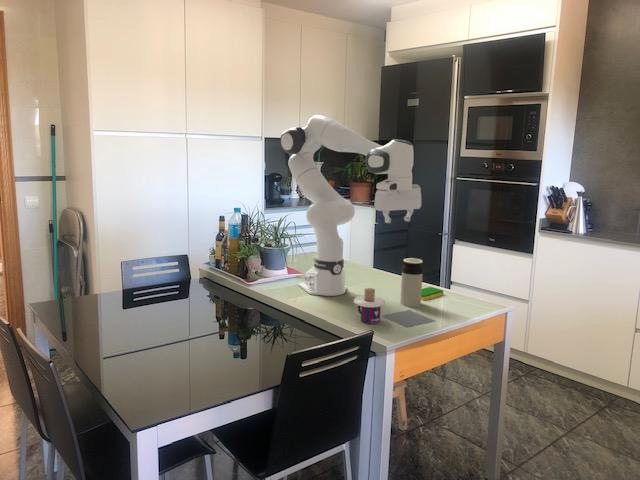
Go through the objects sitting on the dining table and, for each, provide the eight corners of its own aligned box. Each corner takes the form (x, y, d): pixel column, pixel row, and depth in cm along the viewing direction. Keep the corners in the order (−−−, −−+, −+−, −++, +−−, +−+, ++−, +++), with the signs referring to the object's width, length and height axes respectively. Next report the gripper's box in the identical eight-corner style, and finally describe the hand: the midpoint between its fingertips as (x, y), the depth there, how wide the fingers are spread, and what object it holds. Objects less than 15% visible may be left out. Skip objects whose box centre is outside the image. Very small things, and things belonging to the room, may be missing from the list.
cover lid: (347, 300, 186) (348, 287, 185) (371, 296, 192) (372, 283, 191) (366, 309, 177) (367, 295, 176) (391, 304, 183) (391, 291, 182)
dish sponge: (409, 297, 218) (410, 291, 217) (430, 291, 226) (430, 286, 226) (423, 301, 212) (423, 295, 212) (443, 295, 221) (444, 290, 221)
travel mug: (423, 306, 204) (427, 262, 200) (405, 308, 201) (408, 262, 198) (414, 300, 211) (417, 257, 208) (396, 302, 209) (399, 258, 206)
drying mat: (380, 316, 191) (381, 315, 190) (409, 310, 198) (409, 309, 198) (406, 328, 179) (407, 327, 179) (436, 321, 187) (436, 320, 187)
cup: (368, 326, 180) (368, 307, 179) (352, 317, 189) (352, 299, 187) (383, 323, 183) (384, 305, 182) (367, 315, 192) (368, 297, 191)
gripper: (414, 183, 198) (412, 219, 201) (372, 184, 187) (370, 222, 189) (426, 184, 193) (424, 221, 195) (384, 185, 182) (382, 224, 184)
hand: (397, 221), depth 192 cm, fingers open, 8 cm apart
